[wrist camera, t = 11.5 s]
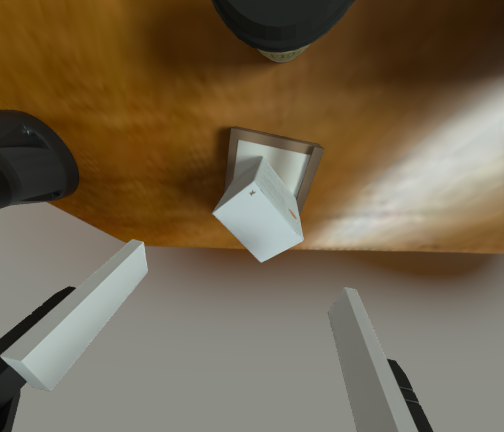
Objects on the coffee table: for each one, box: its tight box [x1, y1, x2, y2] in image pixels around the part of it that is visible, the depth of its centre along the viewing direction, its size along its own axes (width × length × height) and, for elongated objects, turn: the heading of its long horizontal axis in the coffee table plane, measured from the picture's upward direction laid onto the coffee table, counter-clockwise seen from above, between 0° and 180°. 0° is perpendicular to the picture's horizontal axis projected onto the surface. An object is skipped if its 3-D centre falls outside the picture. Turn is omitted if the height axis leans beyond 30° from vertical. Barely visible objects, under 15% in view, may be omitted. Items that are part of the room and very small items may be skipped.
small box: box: [212, 156, 304, 262], centre depth 23 cm, size 8×6×10 cm
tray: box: [224, 126, 324, 217], centre depth 28 cm, size 12×14×4 cm
